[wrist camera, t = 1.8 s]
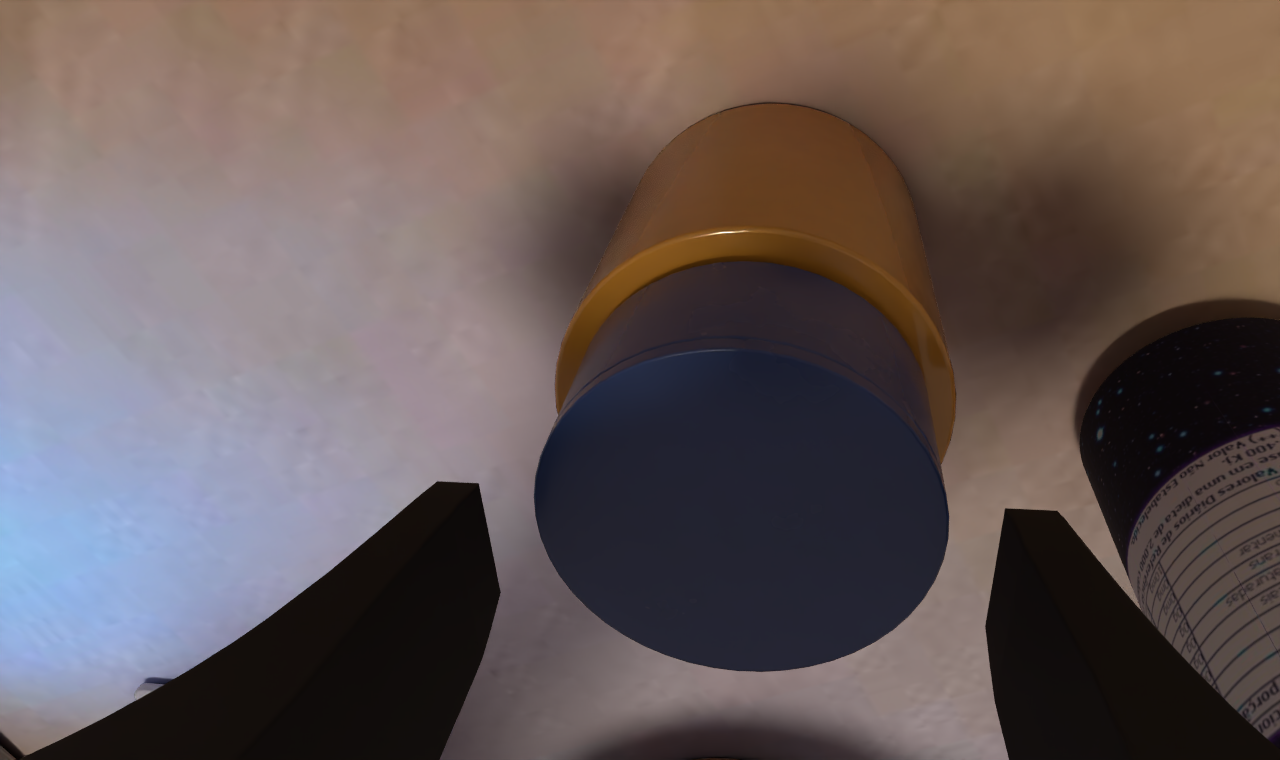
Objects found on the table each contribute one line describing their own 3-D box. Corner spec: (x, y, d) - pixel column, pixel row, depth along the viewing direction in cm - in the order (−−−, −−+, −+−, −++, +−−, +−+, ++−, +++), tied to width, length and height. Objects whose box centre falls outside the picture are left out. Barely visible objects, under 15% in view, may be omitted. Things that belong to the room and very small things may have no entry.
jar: (906, 375, 22) (952, 689, 14) (637, 368, 23) (541, 655, 15) (930, 98, 19) (1011, 305, 11) (615, 107, 20) (477, 299, 12)
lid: (913, 567, 16) (929, 691, 14) (593, 548, 17) (558, 660, 15) (946, 260, 13) (973, 353, 11) (557, 259, 14) (505, 344, 12)
